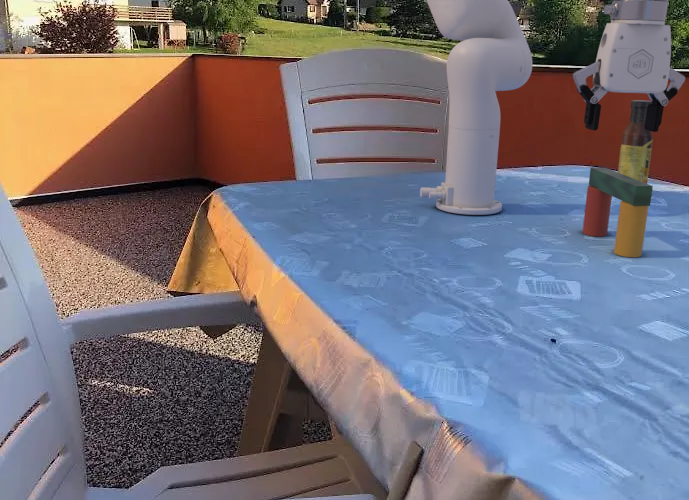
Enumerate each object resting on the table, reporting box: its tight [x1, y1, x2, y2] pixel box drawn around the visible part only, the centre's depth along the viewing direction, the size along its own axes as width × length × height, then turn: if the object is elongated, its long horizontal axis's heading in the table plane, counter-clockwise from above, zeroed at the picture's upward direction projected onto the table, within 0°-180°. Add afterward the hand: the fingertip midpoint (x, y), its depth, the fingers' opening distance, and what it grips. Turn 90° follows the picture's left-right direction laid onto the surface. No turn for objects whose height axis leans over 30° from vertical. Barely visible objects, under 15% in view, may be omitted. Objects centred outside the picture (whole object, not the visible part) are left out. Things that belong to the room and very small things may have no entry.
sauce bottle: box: [617, 99, 654, 184], centre depth 152 cm, size 7×6×20 cm
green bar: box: [588, 167, 654, 207], centre depth 112 cm, size 16×3×3 cm, turn 5°
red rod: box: [582, 185, 613, 237], centre depth 119 cm, size 4×4×8 cm
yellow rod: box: [613, 200, 650, 258], centre depth 108 cm, size 4×4×8 cm
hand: (621, 130), depth 110 cm, fingers open, 9 cm apart
